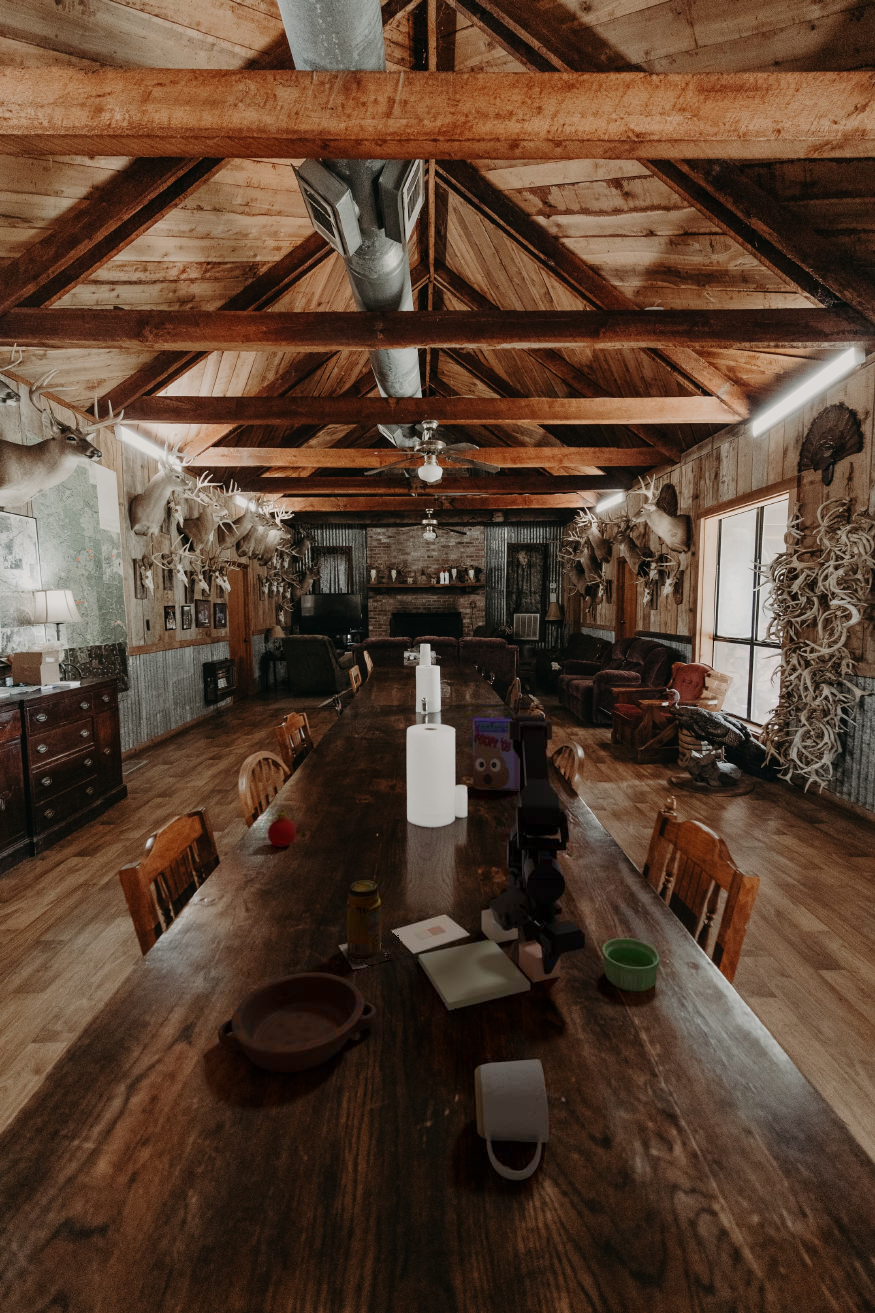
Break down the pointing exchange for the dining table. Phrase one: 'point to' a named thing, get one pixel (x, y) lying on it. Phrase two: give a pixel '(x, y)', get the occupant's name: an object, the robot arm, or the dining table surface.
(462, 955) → the baseplate
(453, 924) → the page
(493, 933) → the cream brick
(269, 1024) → the dish
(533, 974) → the terracotta brick
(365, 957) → the condiment
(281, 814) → the christmas ornament
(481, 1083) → the ceramic mug
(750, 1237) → the dining table surface
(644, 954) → the ramekin
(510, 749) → the cereal box
